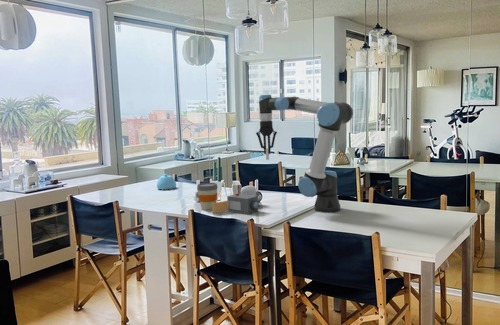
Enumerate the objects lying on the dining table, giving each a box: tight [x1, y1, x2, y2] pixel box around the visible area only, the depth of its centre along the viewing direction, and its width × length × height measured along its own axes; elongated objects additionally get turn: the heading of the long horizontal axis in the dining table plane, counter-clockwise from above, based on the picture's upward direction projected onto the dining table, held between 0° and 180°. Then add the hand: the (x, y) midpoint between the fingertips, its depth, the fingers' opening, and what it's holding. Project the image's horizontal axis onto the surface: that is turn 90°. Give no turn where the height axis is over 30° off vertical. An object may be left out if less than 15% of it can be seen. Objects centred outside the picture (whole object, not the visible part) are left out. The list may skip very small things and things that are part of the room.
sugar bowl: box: [156, 173, 177, 190], centre depth 368 cm, size 15×15×12 cm
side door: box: [212, 199, 229, 213], centre depth 279 cm, size 11×1×6 cm, turn 121°
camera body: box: [227, 192, 260, 215], centre depth 280 cm, size 18×9×10 cm, turn 51°
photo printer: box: [240, 185, 257, 196], centre depth 296 cm, size 10×4×12 cm, turn 123°
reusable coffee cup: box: [196, 182, 218, 211], centre depth 292 cm, size 13×12×15 cm
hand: (267, 159), depth 286 cm, fingers closed
